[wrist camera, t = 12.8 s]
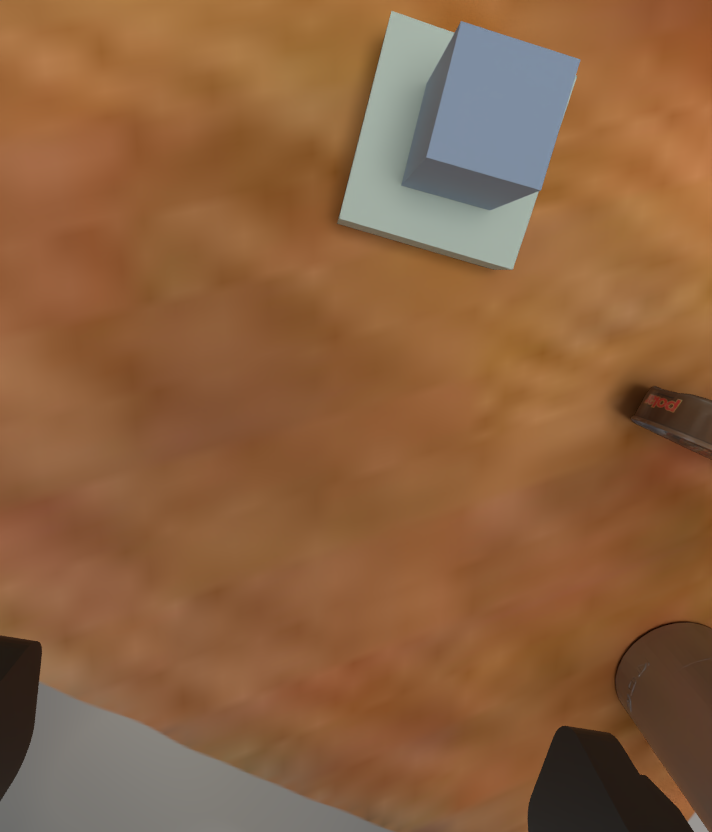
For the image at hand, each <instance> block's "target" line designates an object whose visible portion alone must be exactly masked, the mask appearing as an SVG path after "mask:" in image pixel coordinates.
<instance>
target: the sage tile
mask: <svg viewBox="0 0 712 832" xmlns="http://www.w3.org/2000/svg"><path fill="white" fill-rule="evenodd" d="M453 35H454V33H453V32H450V31H447V30H445V29H442V28H439V27H436V26H433V25H430V24H427V23H425V22H422V21H419V20H416V19H413V18H410V17H407V16H405V15H402V14H399V13H396V12H393V11H392V12H391V15H390V19H389V23H388V26H387V30H386V34H385V37H384V41H383V45H382V49H381V53H380V57H379V61H378V65H377V69H376V73H375V77H374V80H373V84H372V88H371V92H370V96H369V100H368V104H367V108H366V112H365V116H364V120H363V124H362V128H361V132H360V136H359V140H358V144H357V148H356V152H355V156H354V160H353V164H352V168H351V172H350V175H349V179H348V183H347V187H346V191H345V195H344V199H343V203H342V207H341V211H340V215H339V219H338V223H337V224H340V225H344V226H347V227H351V228H354V229H357V230H361V231H364V232H368V233H371V234H374V235H378V236H381V237H385V238H388V239H391V240H395V241H398V242H402V243H405V244H408V245H412V246H415V247H419V248H422V249H425V250H429V251H432V252H436V253H439V254H442V255H446V256H449V257H452V258H456V259H459V260H463V261H466V262H469V263H473V264H476V265H480V266H483V267H486V268H490V269H493V270H513V267H514V264H515V261H516V258H517V255H518V252H519V249H520V246H521V243H522V240H523V237H524V234H525V231H526V228H527V225H528V222H529V219H530V216H531V213H532V210H533V207H534V204H535V201H536V198H537V195H538V192H539V191H538V192H535V193H533V194H530V195H528V196H525V197H523V198H520V199H518V200H515V201H513V202H510V203H508V204H505V205H502V206H500V207H497V208H495V209H492V210H487V209H483V208H480V207H476V206H473V205H469V204H466V203H462V202H458V201H455V200H451V199H448V198H444V197H441V196H437V195H433V194H430V193H426V192H423V191H419V190H415V189H412V188H408V187H405V186H401V184H402V180H403V176H404V172H405V168H406V164H407V160H408V156H409V152H410V148H411V144H412V140H413V136H414V132H415V128H416V124H417V120H418V116H419V112H420V108H421V104H422V100H423V96H424V92H425V88H426V84H427V82H428V80H429V78H430V76H431V75H432V73H433V71H434V69H435V67H436V66H437V64H438V62H439V60H440V58H441V57H442V55H443V53H444V51H445V49H446V48H447V46H448V44H449V42H450V40H451V39H452V37H453ZM576 78H577V76H575V79H574V82H573V86H572V89H571V92H570V96H571V93H572V90H573V87H574V84H575V81H576ZM570 96H569V99H570ZM569 99H568V102H569ZM568 102H567V105H568ZM566 108H567V106H566ZM565 111H566V109H565ZM564 114H565V112H564ZM563 117H564V115H563ZM562 120H563V119H562ZM561 123H562V122H561ZM560 126H561V125H560Z"/></svg>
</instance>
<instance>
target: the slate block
mask: <svg viewBox="0 0 712 832" xmlns="http://www.w3.org/2000/svg"><path fill="white" fill-rule="evenodd" d="M579 63H580V59H577V58H574V57H571V56H568V55H564V54H561V53H558V52H555V51H552V50H549V49H546V48H543V47H540V46H536V45H533V44H530V43H527V42H524V41H521V40H518V39H515V38H512V37H509V36H505V35H502V34H499V33H496V32H493V31H490V30H487V29H484V28H481V27H477V26H474V25H471V24H468V23H465V22H462V21H461V22H460V24H459V26H458V28H457V30H456V31H455V33H454V35H453V37H452V39H451V40H450V42H449V44H448V46H447V48H446V49H445V51H444V53H443V55H442V57H441V58H440V60H439V62H438V64H437V66H436V67H435V69H434V71H433V73H432V75H431V76H430V78H429V80H428V82H427V84H426V88H425V92H424V96H423V100H422V104H421V108H420V112H419V116H418V120H417V124H416V128H415V132H414V136H413V140H412V144H411V148H410V152H409V156H408V160H407V164H406V168H405V172H404V176H403V180H402V184H401V186H405V187H408V188H412V189H415V190H419V191H423V192H426V193H430V194H433V195H437V196H441V197H444V198H448V199H451V200H455V201H458V202H462V203H466V204H469V205H473V206H476V207H480V208H483V209H487V210H492V209H495V208H497V207H500V206H502V205H505V204H508V203H510V202H513V201H515V200H518V199H520V198H523V197H525V196H528V195H530V194H533V193H535V192H538V191H540V190H541V188H542V185H543V181H544V178H545V175H546V172H547V168H548V165H549V162H550V158H551V155H552V152H553V148H554V145H555V142H556V139H557V135H558V132H559V129H560V125H561V122H562V119H563V115H564V112H565V109H566V106H567V102H568V99H569V96H570V92H571V89H572V86H573V82H574V79H575V76H576V73H577V69H578V66H579Z"/></svg>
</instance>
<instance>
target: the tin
mask: <svg viewBox="0 0 712 832" xmlns="http://www.w3.org/2000/svg"><path fill="white" fill-rule="evenodd" d="M631 420H632V421H633V422H634V423H636V424H638V425H640V426H642V427H644V428H646V429H648V430H650V431H652V432H654V433H656V434H658V435H660V436H662V437H664V438H667V439H669V440H671V441H673V442H675V443H677V444H679V445H682V446H684V447H686V448H688V449H690V450H692V451H694V452H696V453H699V454H701V455H703V456H705V457H707V458H709V459H711V460H712V400H709V399H706V398H703V397H699V396H696V395H691V394H682V393H676V392H671V391H667V390H663V389H661V388H659V387H657V386H653V387H651V388H650V390H649V391H648V392H647V394H646V395H645V397H644V399H643V401H642V403H641V404H640V406H639V408H638V410H637V412H636V414H635V415H634V416H632V417H631Z"/></svg>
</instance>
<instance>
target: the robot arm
mask: <svg viewBox="0 0 712 832" xmlns="http://www.w3.org/2000/svg"><path fill="white" fill-rule="evenodd" d="M41 656H42V647H41V644H40V642H38V641H32V640H26V639H19V638H13V637H6V636H0V801H1V799H2V798H3V796H4V794H5V792H6V791H7V789H8V788H9V786H10V785H11V783H12V782H13V780H14V778H15V777H16V775H17V773H18V771H19V769H20V767H21V765H22V763H23V760H24V758H25V756H26V753H27V750H28V748H29V745H30V742H31V737H32V734H33V730H34V723H35V713H36V704H37V694H38V685H39V675H40V666H41ZM616 691H617V695H618V698H619V700H620V701H621V703H622V705H623V707H624V708H625V709H626V711H627V712H628V714H629V715H630V717H631V718H632V720H633V721H634V723H635V724H636V725H637V727H638V728H639V730H640V731H641V733H642V734H643V736H644V737H645V739H646V740H647V742H648V743H649V745H650V746H651V748H652V749H653V751H654V752H655V754H656V755H657V757H658V758H659V759H660V761H661V762H662V764H663V765H664V767H665V768H666V770H667V771H668V773H669V774H670V776H671V777H672V778H673V780H674V781H675V783H676V784H677V786H678V787H679V789H680V790H681V792H682V793H683V794H684V796H685V797H686V799H687V800H688V802H689V803H690V805H691V806H692V808H693V809H694V811H695V812H696V813H697V815H698V816H699V818H700V819H701V821H702V822H703V824H704V825H705V827H706V828H707V830H708V831H709V832H712V629H711V628H708V627H706V626H703V625H701V624H695V623H674V624H670V625H665V626H662V627H660V628H657V629H655V630H653V631H651V632H649V633H648V634H646V635H644V636H643V637H641V638H640V639H639V640H638V641H637V642H635V643H634V644H633V645H632V646H631V647H630V649H629V650H628V651H627V652H626V654H625V655H624V656H623V658H622V660H621V663H620V665H619V667H618V670H617V675H616ZM528 831H529V832H694V831H693V830H692V828H691V827H690V825H689V824H688V822H687V821H686V819H685V818H684V816H683V815H682V813H681V812H680V810H679V809H678V808H677V807H676V806H675V805H674V804H673V803H672V802H671V801H670V800H669V798H668V797H667V796H666V795H665V794H664V793H663V792H662V791H661V790H660V789H659V788H658V787H657V786H656V785H655V784H654V783H653V782H652V781H651V780H650V779H649V778H648V777H647V776H645V775H640V774H639V773H638V771H637V769H636V768H635V766H634V765H633V763H632V761H631V760H630V758H629V757H628V755H627V753H626V752H625V750H624V749H623V747H622V745H621V744H620V742H619V741H618V740H617V738H616V737H615V736H613V735H612V734H610V733H607V732H601V731H594V730H588V729H582V728H575V727H569V726H562V727H560V728H559V729H558V730H557V731H556V733H555V735H554V737H553V740H552V743H551V745H550V748H549V750H548V753H547V756H546V758H545V761H544V764H543V766H542V769H541V772H540V774H539V777H538V780H537V782H536V785H535V787H534V790H533V793H532V795H531V798H530V802H529V807H528Z"/></svg>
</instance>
